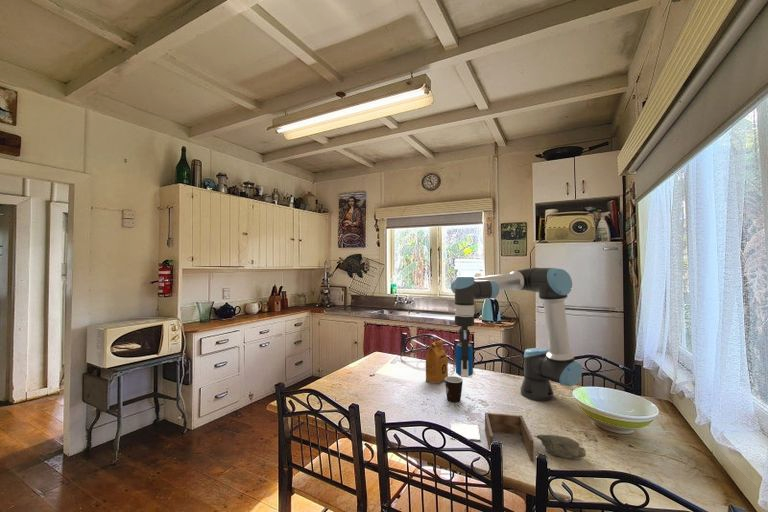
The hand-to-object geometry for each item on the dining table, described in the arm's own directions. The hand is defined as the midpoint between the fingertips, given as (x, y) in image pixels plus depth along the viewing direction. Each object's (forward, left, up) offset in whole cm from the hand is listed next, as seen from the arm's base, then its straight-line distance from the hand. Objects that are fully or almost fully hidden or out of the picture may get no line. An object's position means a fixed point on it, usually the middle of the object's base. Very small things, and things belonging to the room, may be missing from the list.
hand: (464, 373), depth 130 cm
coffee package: (+13, -54, -23) cm, 60 cm away
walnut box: (-15, +6, -23) cm, 28 cm away
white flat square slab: (0, 0, -23) cm, 23 cm away
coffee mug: (+4, -31, -23) cm, 39 cm away
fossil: (-32, +7, -23) cm, 41 cm away
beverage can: (0, 0, -1) cm, 1 cm away
